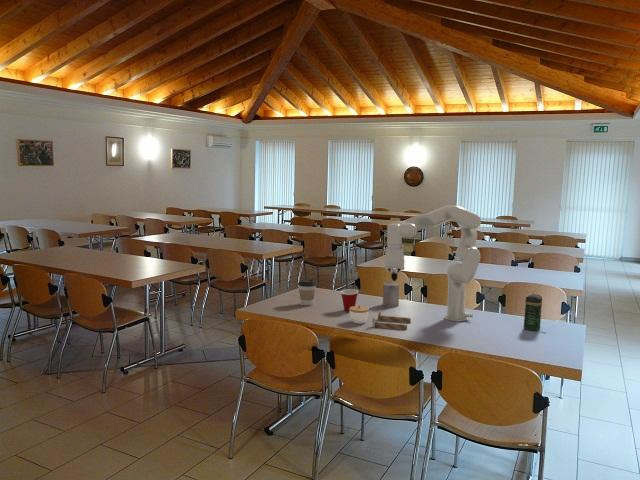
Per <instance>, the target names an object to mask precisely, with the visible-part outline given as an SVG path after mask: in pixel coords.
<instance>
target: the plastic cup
mask: <svg viewBox="0 0 640 480" xmlns="http://www.w3.org/2000/svg"><path fill="white" fill-rule="evenodd" d="M339 293H340V295H341V297H342V298H341V299H342V304H343V310H344V312H347V313H348V312H349V308H350V307H353V306H356V304H357V303H356V302H357V298H358V294H359V290H358V289H354V288H353V289H352V288H348V289H347V288H346V289H342V290H340V292H339Z"/></svg>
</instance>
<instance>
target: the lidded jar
mask: <svg viewBox="0 0 640 480" xmlns="http://www.w3.org/2000/svg"><path fill="white" fill-rule="evenodd" d="M369 312H370V308H369V307H367V306H363V305H360V304H358V305H355V306H353V307H350V308H349V318H350V320H351V321H352V323H354V324H359V325H360V324H365V322H366V321H367V320H368V318H369Z"/></svg>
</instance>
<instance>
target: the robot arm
mask: <svg viewBox="0 0 640 480" xmlns="http://www.w3.org/2000/svg"><path fill="white" fill-rule="evenodd" d="M447 222H455V223H456V224H457V225H458V227H459V228H460V231H461V235H460V238H459V242H458V245H457V248H456V250H455V259H456V260H457V261H460V262H462V263H459V262H454V263H451V264H450V265H449V266H448V268H447V286H448V287H447V306H446V307H447V309H446V310H447V311H446V314H445V315H443V318H444V320H446V321H451V322H466V321H467V320H468V318H473V313H471V312H469V313H468V312H466V293H467V291H466V290H467V288H466V284H469V283H471V282H472V281H473V280H474V279H475V276H476V273H477V270H478V267H479V265H480V261H481V256H482V255H481V252H480V249H478V247H476V244H477V243H476V242H477V238H478V231H477V229H478V228H479V227H480V226H481V224H482V219H481V217H480V216H479V215H478V214H476V213H475V212H473V211H470V210H468V209H466V208H464V207H461V206H459V205H454V204H453V205H452V204H447V205H444V206H441V207H440V208H436V209H434V210H431V211H429V212H426V213H423V214H420V215H419V214H418V215H416V216H412V217H410V218H407V219H405V220H402V221H399V223H388V225H387V228H386V230H387V232H386V233H387V234H386V235H387V237H386V238H387V239H386V241H387V247H386V249H385V253H384V255H385V256H384V269H385V270H387V271H388V272H389V273H390V274H391V276H390V277H391V280H392V281H391V282H396V281H397V280H398V273H400V271H404V270H405V252H404V248H405V244H402V242H403V241H402V240H403V239H402V238H403V237H404V238H412V237H415V236H416V235H417V234H418V230H421V229H431V228H432V229H433V228H436V227H438V226H441V225H443V224H445V223H447ZM394 269H395V270H394Z"/></svg>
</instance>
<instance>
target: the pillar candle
mask: <svg viewBox="0 0 640 480" xmlns="http://www.w3.org/2000/svg"><path fill="white" fill-rule="evenodd" d="M382 285H383V287H382V293H383V294H382V306H384V307H385V308H398V307H399V304H400V303H399V302H400V301H399V299H400V283H398V282H396V281H386V282H383V284H382Z"/></svg>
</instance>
